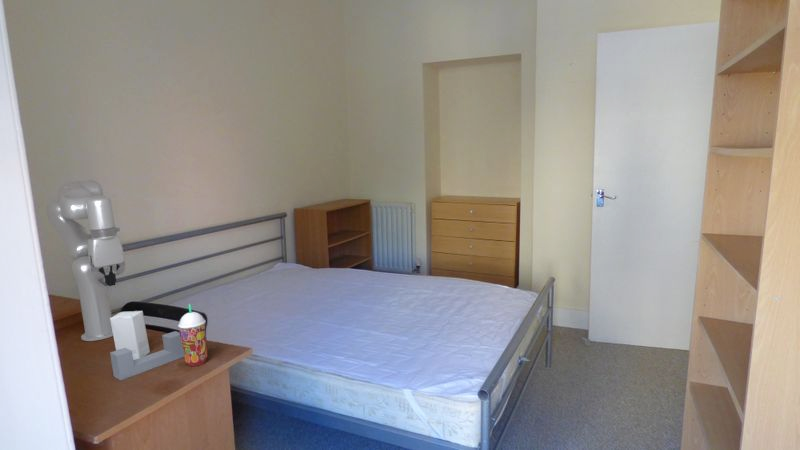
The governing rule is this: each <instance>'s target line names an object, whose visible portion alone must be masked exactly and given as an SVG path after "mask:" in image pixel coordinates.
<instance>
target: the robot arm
mask: <svg viewBox="0 0 800 450" xmlns="http://www.w3.org/2000/svg"><path fill="white" fill-rule="evenodd" d="M103 191H104V190H103V188H102V186H101V184H100V183H99V182H98V181H96V180H94V179H93V180H91V179H90V180H80V181H79V180H78V181H68V182H65V183H62V184H61V185H60V186H59V187H58V190H57V196H58V198H55V199H52V200H50V201H48V202H47V203H46V205H45V213H46V216H47V219H48V221H49V223H50V224H51V227H53V229H55V231H56V232H57V233H59V235H60V236H61V238H62V240H63V243H64V245H65V247H66V250H67V252H68V254H69V255H70V257H71V258H72V259H73V262H72V264H71V271H72V274H73V278H74V280H75V283H76V287H77V291H78V297H79V302H80V308H81V315H82V320H83V326H84V333H83V334H82V335H81V336H80V337H81V340H82V341H85V342H95V341H101V340H105V339H109V338H112V337H113V332H112V327H111V322H110V318H111V317H113V315H112V310H111V301H110V296H109V290H108V288H107V287H106V286H108V287H113V286H116V283H117V278H116V276H119V275H122V274H123V273H124V272H125V271H126V261H125V252H124V249H123V244H122V241H121V239H120V236H119V235H118V234H117V233H119V232H120V227H116V226H115V225H116V224H115V218H114V210H113V204H112V201H111V198H110V197H106V195H105V196H104V193H103ZM86 219H88V221H87V222H88V225H89V227H88V228H89V233H88V231H87V229H86V227H84V225H83V224H81V223H79V222H78V221H79V220H86ZM102 279H104V282H105V285H106V286H105V285H104V284H103V283H102V282H100V281H99V280H102Z"/></svg>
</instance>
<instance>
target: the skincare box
mask: <svg viewBox="0 0 800 450" xmlns="http://www.w3.org/2000/svg"><path fill="white" fill-rule="evenodd" d="M110 322H111V327H112V332H113V336H112V337H113V340H114V341H113V342H114V347H115V351H116V350H119V349H122V348H127V349H129V350H131V351H132V355H133V360H135V359H138V358H141V357H144V356H147V355H150V354H151V350H150V344H149V339H148V334H147V328H146V323H145V318H144V312H143V310H134V311H132V310H131V311H120V312H118V313H117V314H115V315H112V317H111V318H110Z"/></svg>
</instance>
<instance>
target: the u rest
mask: <svg viewBox="0 0 800 450" xmlns="http://www.w3.org/2000/svg"><path fill="white" fill-rule="evenodd" d="M161 337H162V343H163V349H161V350H159V351H156V352H153V353H149V354H147V355H146V356H144V357H141V358H138V359H135V360H133V355H132V351H131V350H129V349H127V348H122V349H119V350H116V349H115V350H112V351H110V353H109V355H110V361H111V368H112V372H113V374H112V375H113V377H114V378H116V379H117V380H118V381H124V380H126V379H128V378H131V377H133V376H137V375H139V374H142V373H144V372H147V371H149V370H152V369H153V370H154V369H155V368H158V367H160V366H163V365H165V364H168V363H170V362H174V361H176V360H179V359H182V358H185V357H184V352H183V347H182V342H181V337H180V332H179V331H176V330H174V331H171V332H169V333H165V334H162V335H161Z"/></svg>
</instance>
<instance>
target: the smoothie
mask: <svg viewBox="0 0 800 450" xmlns="http://www.w3.org/2000/svg"><path fill="white" fill-rule="evenodd" d="M191 304H192V303H191ZM191 304H190V303H188V312H186V313H185V314H184V315H182V316H181V318H180V319H179V323H178V324H177V327H178V332H179V333H180V337H181V342H182V347H183V352H184V357H183V358H184V361H185V363H186V364H187V366H189V367H190V366H191V367H197V366H200V365H203V364H205V363H206V361H207V359H208V345H207V343H208V342H207V340H208V339H207V328H206V327H207V324H206V323H207V321H206V319H205V318H204V317H203V315H202V314H200V313H199V312H196V311H192V305H191Z"/></svg>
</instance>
